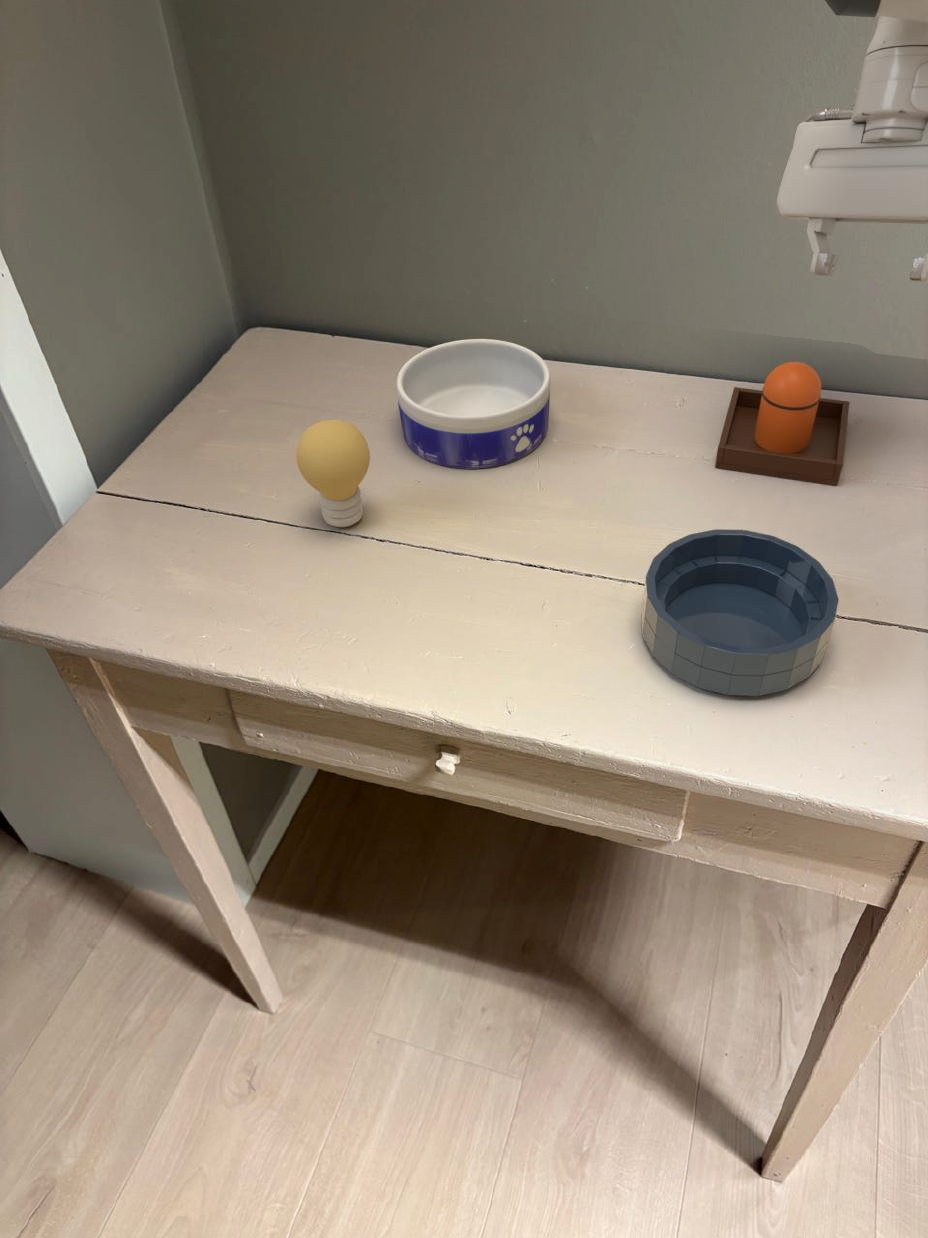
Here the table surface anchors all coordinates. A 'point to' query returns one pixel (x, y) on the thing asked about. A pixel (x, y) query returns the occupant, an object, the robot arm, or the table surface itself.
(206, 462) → the table surface
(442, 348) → the dog bowl
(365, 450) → the light bulb
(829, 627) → the glazed bowl
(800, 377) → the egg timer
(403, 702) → the table surface
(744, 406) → the tray
